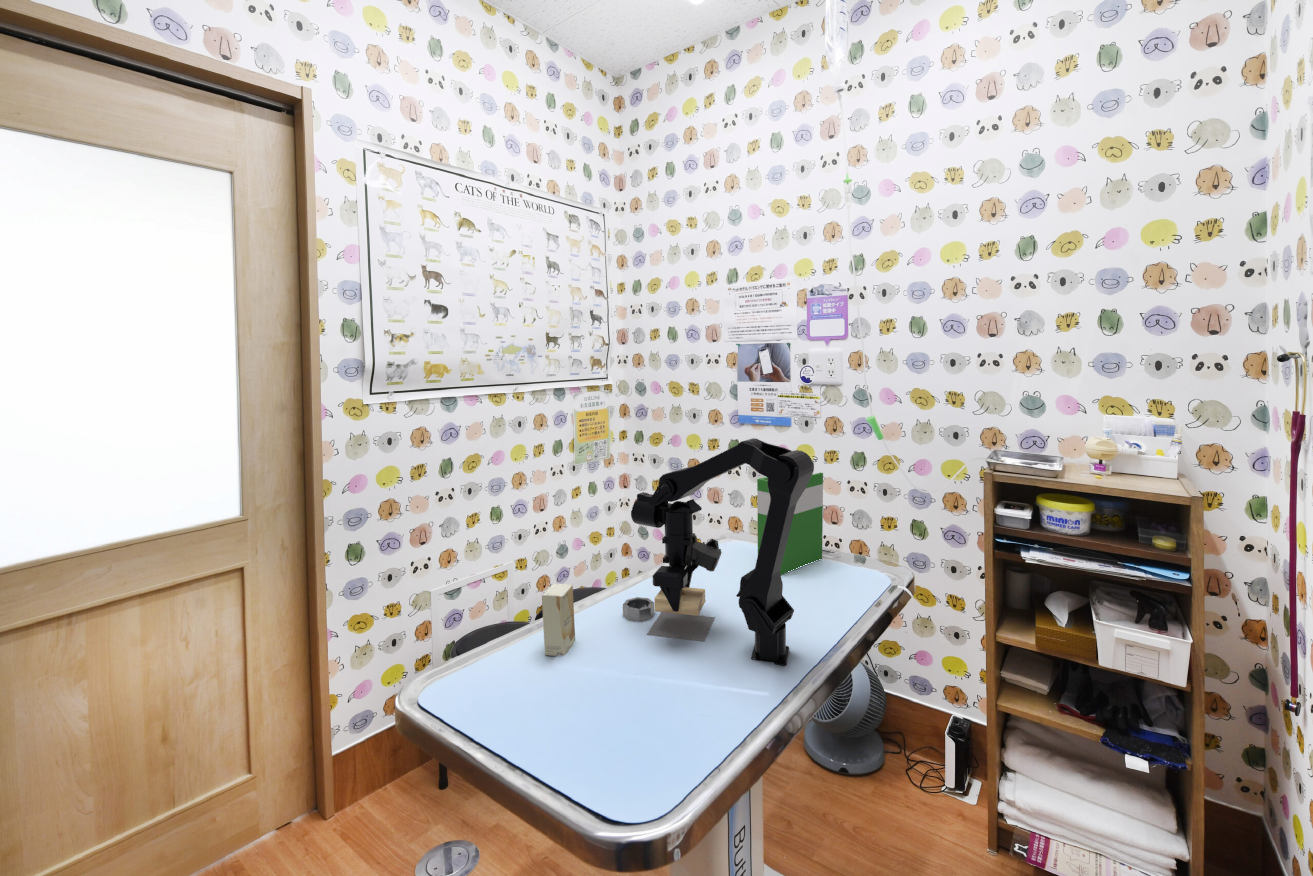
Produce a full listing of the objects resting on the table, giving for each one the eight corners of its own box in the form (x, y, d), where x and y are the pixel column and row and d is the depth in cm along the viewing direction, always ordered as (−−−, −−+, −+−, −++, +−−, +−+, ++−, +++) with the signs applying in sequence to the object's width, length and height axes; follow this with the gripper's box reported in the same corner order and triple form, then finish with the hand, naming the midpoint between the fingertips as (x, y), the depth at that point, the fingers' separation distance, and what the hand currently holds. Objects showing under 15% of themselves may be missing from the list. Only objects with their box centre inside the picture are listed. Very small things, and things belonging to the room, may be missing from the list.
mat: (704, 643, 116) (704, 641, 116) (646, 637, 120) (646, 634, 120) (715, 619, 127) (715, 617, 127) (661, 613, 130) (661, 611, 130)
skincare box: (565, 657, 113) (562, 596, 111) (544, 656, 113) (540, 595, 112) (576, 641, 119) (573, 583, 117) (556, 640, 120) (552, 582, 118)
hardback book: (800, 552, 167) (800, 469, 163) (822, 559, 161) (823, 473, 157) (757, 568, 156) (757, 479, 152) (779, 575, 150) (779, 483, 147)
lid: (697, 615, 118) (697, 600, 118) (654, 611, 121) (654, 596, 120) (705, 601, 125) (705, 586, 124) (664, 597, 127) (663, 583, 127)
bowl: (648, 624, 125) (647, 611, 125) (620, 621, 127) (619, 608, 127) (657, 611, 131) (656, 599, 131) (629, 609, 133) (629, 596, 133)
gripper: (707, 548, 109) (709, 628, 111) (725, 520, 127) (726, 589, 129) (650, 544, 112) (653, 622, 115) (675, 517, 130) (677, 585, 132)
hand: (680, 603), depth 123 cm, fingers closed on lid, 7 cm apart
